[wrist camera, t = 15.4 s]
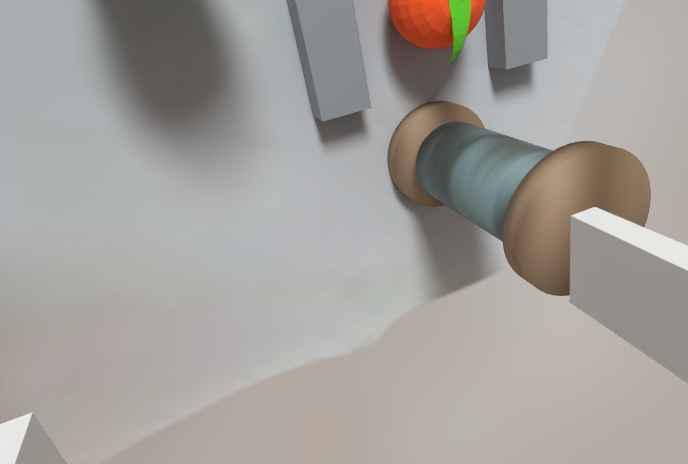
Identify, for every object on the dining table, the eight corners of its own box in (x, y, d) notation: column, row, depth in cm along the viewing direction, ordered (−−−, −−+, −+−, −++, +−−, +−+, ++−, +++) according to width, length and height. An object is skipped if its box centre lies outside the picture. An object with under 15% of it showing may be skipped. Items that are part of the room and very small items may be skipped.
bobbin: (396, 213, 44) (521, 316, 29) (379, 116, 40) (515, 174, 25) (481, 184, 46) (644, 266, 31) (474, 89, 42) (657, 127, 27)
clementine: (457, 52, 41) (510, 57, 34) (381, 69, 39) (421, 77, 33) (451, -58, 37) (508, -75, 31) (367, -45, 36) (409, -60, 29)
